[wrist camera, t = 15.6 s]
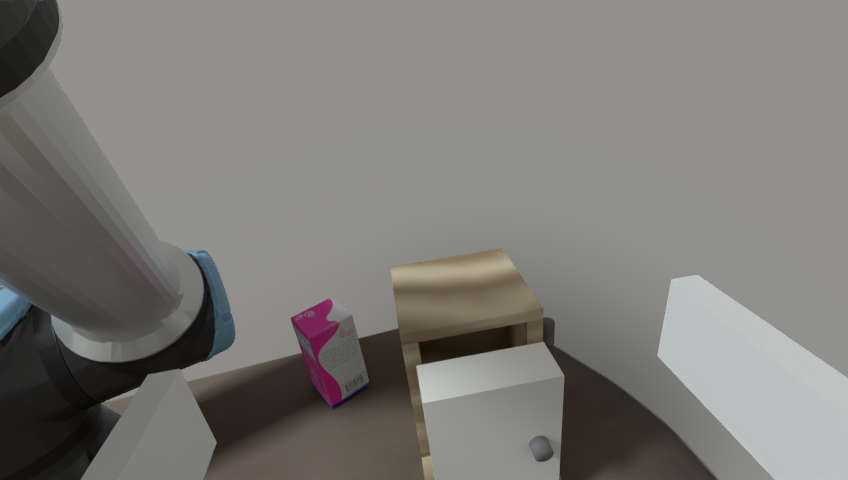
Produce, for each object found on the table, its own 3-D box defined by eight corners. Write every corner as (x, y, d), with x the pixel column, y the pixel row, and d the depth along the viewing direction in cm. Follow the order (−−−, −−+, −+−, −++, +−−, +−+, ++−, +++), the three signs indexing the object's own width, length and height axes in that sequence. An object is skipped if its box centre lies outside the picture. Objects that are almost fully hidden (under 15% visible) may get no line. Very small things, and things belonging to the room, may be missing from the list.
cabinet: (410, 378, 54) (390, 267, 46) (515, 358, 55) (513, 246, 47) (436, 556, 35) (411, 419, 28) (596, 521, 36) (613, 379, 29)
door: (434, 479, 41) (416, 365, 34) (541, 457, 42) (543, 341, 35) (444, 535, 36) (424, 416, 29) (563, 509, 37) (571, 387, 30)
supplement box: (349, 362, 58) (331, 295, 53) (371, 385, 54) (354, 314, 49) (311, 385, 55) (289, 316, 50) (331, 411, 51) (309, 338, 46)
